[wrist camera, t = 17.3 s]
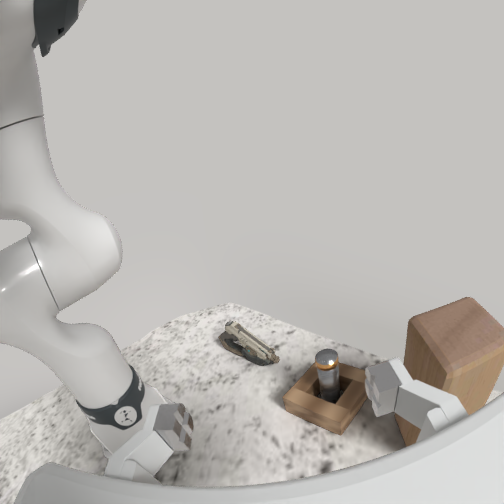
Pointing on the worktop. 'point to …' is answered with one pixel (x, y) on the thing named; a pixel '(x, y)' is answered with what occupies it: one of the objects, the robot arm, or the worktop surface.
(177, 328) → the worktop surface
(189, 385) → the worktop surface
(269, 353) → the futuristic pistol
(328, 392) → the grey metal cylinder
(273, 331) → the worktop surface
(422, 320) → the wooden block
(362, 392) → the bore block
